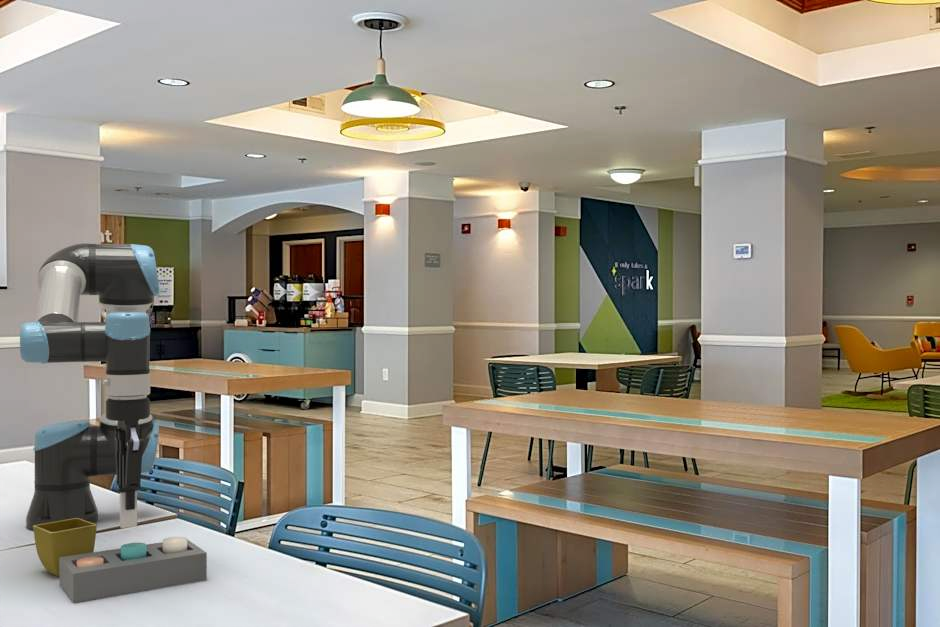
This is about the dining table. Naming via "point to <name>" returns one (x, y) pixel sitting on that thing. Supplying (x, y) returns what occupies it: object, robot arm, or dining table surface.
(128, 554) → the teal button
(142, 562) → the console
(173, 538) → the cream button
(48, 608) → the dining table surface
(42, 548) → the flower pot
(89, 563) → the terracotta button
